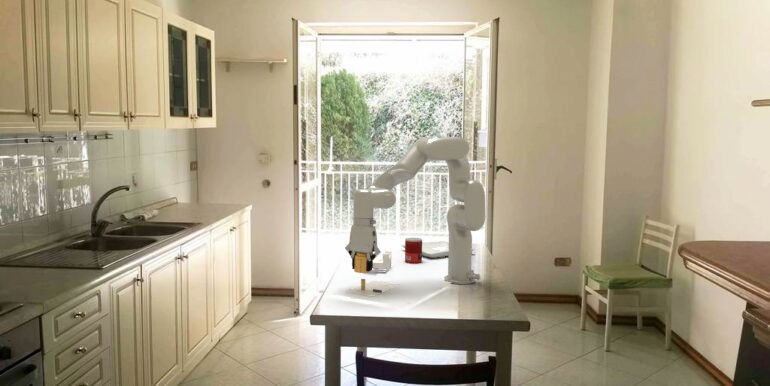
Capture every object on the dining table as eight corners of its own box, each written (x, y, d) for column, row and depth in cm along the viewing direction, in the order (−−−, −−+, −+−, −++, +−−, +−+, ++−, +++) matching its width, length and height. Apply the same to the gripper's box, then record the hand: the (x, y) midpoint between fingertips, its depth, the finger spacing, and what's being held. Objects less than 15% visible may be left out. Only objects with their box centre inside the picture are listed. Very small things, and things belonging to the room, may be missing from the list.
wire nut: (372, 271, 233) (372, 252, 232) (364, 273, 228) (364, 255, 227) (359, 269, 235) (360, 251, 235) (351, 271, 231) (352, 253, 230)
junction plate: (399, 288, 241) (399, 274, 240) (372, 300, 224) (373, 285, 223) (373, 284, 247) (373, 270, 246) (345, 295, 230) (345, 281, 229)
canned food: (422, 263, 285) (422, 240, 284) (405, 263, 286) (405, 240, 285) (421, 260, 293) (421, 237, 292) (404, 260, 293) (405, 237, 292)
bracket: (391, 267, 278) (391, 251, 277) (388, 271, 271) (388, 254, 271) (363, 266, 281) (363, 250, 280) (359, 269, 274) (359, 253, 273)
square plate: (475, 255, 307) (475, 248, 306) (429, 261, 293) (429, 253, 293) (443, 246, 330) (444, 239, 330) (400, 251, 317) (400, 243, 316)
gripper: (388, 223, 229) (386, 271, 231) (349, 219, 237) (348, 265, 239) (377, 225, 222) (376, 274, 224) (338, 221, 231) (337, 268, 233)
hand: (362, 269), depth 232 cm, fingers closed on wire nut, 5 cm apart
